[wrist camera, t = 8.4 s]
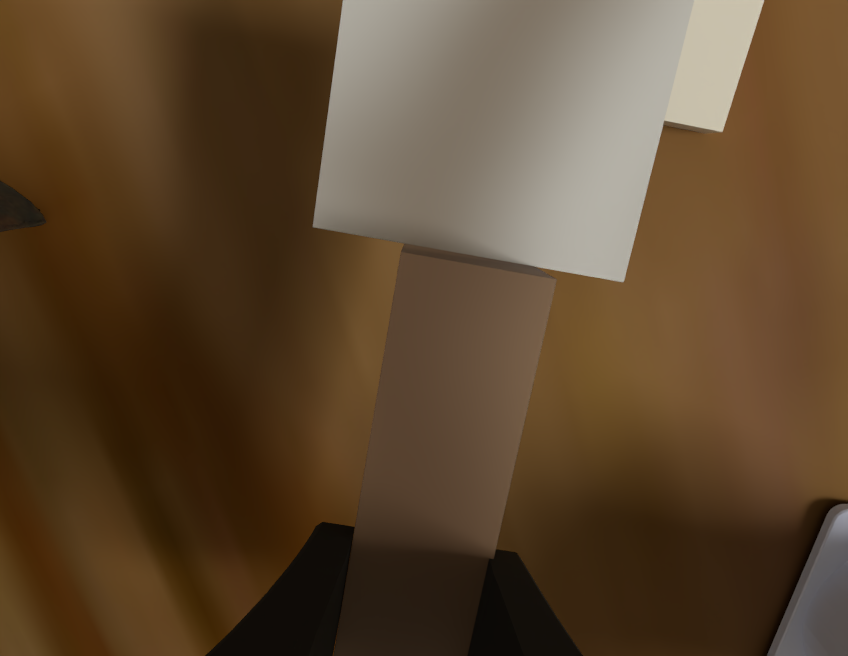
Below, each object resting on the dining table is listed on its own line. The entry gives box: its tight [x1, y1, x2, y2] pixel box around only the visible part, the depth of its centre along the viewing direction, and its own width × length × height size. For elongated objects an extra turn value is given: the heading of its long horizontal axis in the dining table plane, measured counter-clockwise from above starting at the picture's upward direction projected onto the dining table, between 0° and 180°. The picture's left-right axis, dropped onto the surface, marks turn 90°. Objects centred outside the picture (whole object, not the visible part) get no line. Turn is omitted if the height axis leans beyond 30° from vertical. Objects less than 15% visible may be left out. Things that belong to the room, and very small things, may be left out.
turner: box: [313, 0, 694, 656], centre depth 12 cm, size 6×17×4 cm, turn 170°
